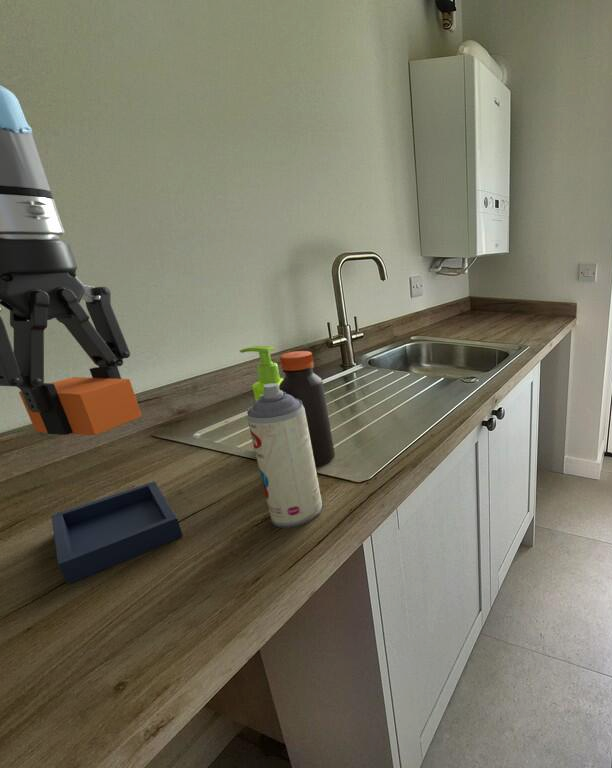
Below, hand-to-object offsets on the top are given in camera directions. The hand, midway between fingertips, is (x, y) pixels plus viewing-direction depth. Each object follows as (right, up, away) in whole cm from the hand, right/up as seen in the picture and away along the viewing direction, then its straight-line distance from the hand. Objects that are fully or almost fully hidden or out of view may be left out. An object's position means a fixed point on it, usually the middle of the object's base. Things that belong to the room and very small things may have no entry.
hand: (90, 421), depth 54 cm
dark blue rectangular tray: (+3, -16, +2) cm, 16 cm away
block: (0, 0, 0) cm, 0 cm away
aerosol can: (+25, -14, +6) cm, 29 cm away
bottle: (+20, -9, +21) cm, 30 cm away
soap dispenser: (+11, -7, +26) cm, 29 cm away
